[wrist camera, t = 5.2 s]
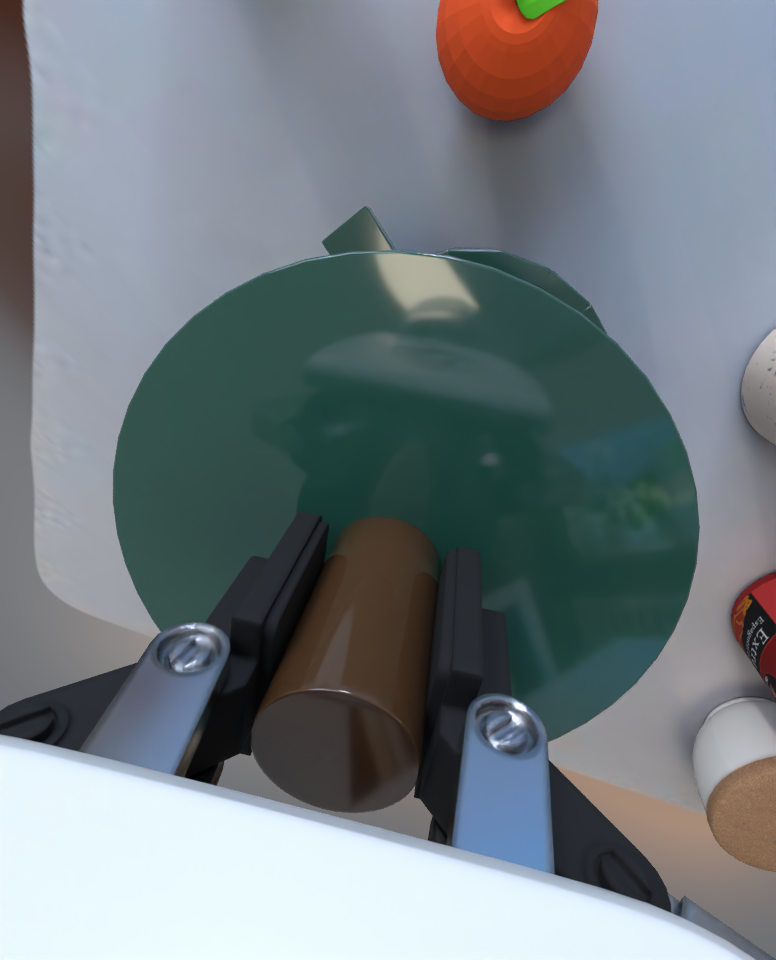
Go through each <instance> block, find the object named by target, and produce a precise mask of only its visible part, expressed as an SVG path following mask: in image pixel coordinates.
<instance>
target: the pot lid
mask: <svg viewBox="0 0 776 960" xmlns="http://www.w3.org/2000/svg"><path fill="white" fill-rule="evenodd" d="M113 506H114V513H115V521H116V528H117V535H118V538H119V542H120V546H121V550H122V553H123V557H124V561H125V564H126V567H127V569H128V571H129V574H130V576H131V579H132V581H133V584H134V586H135V588H136V591H137V593H138V595H139V597H140V598H141V600H142V602H143V604H144V606H145V607H146V609H147V611H148V613H149V615H150V616H151V618H152V620H153V621H154V623H155V624H156V625H157V627H158V628H159V630H160V631H161V632H162V631H164V630H166V629H167V628H169V627H172V626H175V625H177V624H180V623H187V622H204V623H205V622H206V620H207V619H208V617H209V616H210V614H211V613H212V612H213V610H214V609H215V607H216V606H217V604H218V603H219V602H220V600H221V599H222V597H223V596H224V594H225V593H226V591H227V590H228V589H229V587H230V586H231V584H232V583H233V581H234V580H235V579H236V577H237V576H238V574H239V573H240V571H241V570H242V569H243V567H244V566H245V564H246V563H247V561H248V560H249V559H250V558H251V557H252V556H258V557H262V558H267V559H269V557H270V556H271V554H272V552H273V551H274V549H275V548H276V546H277V545H278V543H279V541H280V540H281V538H282V537H283V535H284V534H285V532H286V530H287V529H288V527H289V526H290V524H291V523H292V521H293V519H294V518H295V516H296V515H297V513H298V512H299V511H302V512H307V513H311V514H316V515H320V516H322V522H324V523H329V532H328V539H327V546H326V553H325V560H324V565H323V568H322V570H321V572H320V574H319V576H318V579H317V581H316V583H315V585H314V587H313V590H312V592H311V594H310V596H309V598H308V601H307V603H306V605H305V607H304V609H303V612H302V614H301V616H300V618H299V620H298V623H297V625H296V627H295V629H294V631H293V633H292V636H291V638H290V640H289V642H288V644H287V647H286V649H285V651H284V653H283V655H282V658H281V660H280V662H279V664H278V666H277V669H276V671H275V673H274V675H273V677H272V680H271V682H270V684H269V686H268V688H267V691H266V693H265V695H264V697H263V699H262V702H261V704H260V706H259V708H258V710H257V712H256V715H255V717H254V719H253V722H252V725H251V730H250V744H251V749H252V752H253V755H254V758H255V760H256V762H257V763H258V765H259V766H260V768H261V769H262V771H263V772H264V774H266V776H267V777H268V778H269V779H270V780H271V781H272V782H273V783H274V784H275V785H276V786H278V787H279V788H280V789H282V790H283V791H284V792H286V793H288V794H289V795H291V796H292V797H294V798H296V799H298V800H300V801H302V802H305V803H307V804H310V805H312V806H315V807H318V808H321V809H325V810H330V811H335V812H343V813H365V812H372V811H376V810H381V809H384V808H387V807H389V806H391V805H394V804H395V803H397V802H399V801H400V800H402V799H403V798H404V797H406V796H407V795H408V794H409V792H410V791H411V790H412V789H413V787H414V786H415V784H416V783H417V781H418V778H419V776H420V772H421V766H422V755H423V745H424V734H425V724H426V714H425V713H426V703H427V693H428V683H429V672H430V662H431V652H432V642H433V632H434V622H435V612H436V601H437V591H438V583H439V579H440V576H441V572H442V568H443V564H444V560H445V556H446V553H447V550H449V551H454V552H455V551H456V548H457V546H459V547H463V548H468V549H472V550H477V551H480V553H481V587H482V608H484V609H489V610H493V611H497V612H502V613H503V614H504V615H505V622H506V634H507V645H508V657H509V668H510V680H511V691H512V697H513V698H516V699H518V700H520V701H521V702H523V703H524V704H526V705H527V706H529V707H530V708H531V709H532V710H533V711H534V712H535V713H536V714H537V715H538V717H539V718H540V720H541V722H542V723H543V725H544V727H545V730H546V735H547V742H549V741H551V740H554V739H556V738H559V737H561V736H562V735H564V734H566V733H568V732H570V731H572V730H574V729H576V728H578V727H579V726H581V725H583V724H585V723H587V722H588V721H590V720H591V719H592V718H594V717H595V716H597V715H598V714H600V713H601V712H602V711H604V710H605V709H607V708H608V707H610V706H611V705H612V704H613V703H615V702H616V701H617V700H618V699H619V698H620V697H621V696H622V695H623V694H625V693H626V692H627V691H628V690H629V689H630V688H631V687H632V686H633V685H634V684H636V683H637V681H638V680H639V679H640V678H641V677H642V675H643V674H644V673H645V672H646V671H647V669H648V668H649V667H650V666H651V665H652V664H653V662H654V661H655V660H656V659H657V657H658V656H659V654H660V652H661V651H662V649H663V648H664V646H665V644H666V643H667V641H668V640H669V638H670V636H671V635H672V633H673V632H674V630H675V628H676V625H677V623H678V621H679V618H680V616H681V614H682V611H683V609H684V607H685V604H686V602H687V600H688V596H689V592H690V588H691V584H692V580H693V576H694V572H695V568H696V564H697V552H698V540H699V529H700V527H699V515H698V502H697V490H696V486H695V482H694V478H693V474H692V470H691V466H690V462H689V458H688V454H687V451H686V449H685V446H684V444H683V442H682V439H681V437H680V435H679V432H678V430H677V428H676V425H675V423H674V421H673V418H672V416H671V414H670V412H669V411H668V409H667V408H666V406H665V404H664V403H663V401H662V400H661V398H660V397H659V395H658V393H657V392H656V390H655V389H654V387H653V386H652V384H651V383H650V381H649V379H648V378H647V376H646V375H645V374H644V373H643V372H642V371H641V370H640V369H639V367H638V366H637V365H636V364H635V363H634V362H633V361H632V360H631V358H630V357H629V356H628V355H627V354H626V353H625V352H624V350H623V349H622V348H621V347H620V346H619V345H618V344H617V343H616V342H615V341H614V340H613V339H611V338H610V337H609V336H608V335H607V334H605V333H604V332H603V331H602V330H601V329H600V328H598V327H597V326H596V325H595V324H594V323H592V322H591V321H590V320H589V319H588V318H586V317H585V316H584V315H583V314H582V313H580V312H579V311H577V310H576V309H574V308H572V307H571V306H569V305H567V304H566V303H564V302H563V301H561V300H559V299H558V298H556V297H554V296H553V295H551V294H549V293H548V292H546V291H545V290H543V289H541V288H540V287H538V286H536V285H534V284H531V283H529V282H527V281H524V280H522V279H520V278H517V277H515V276H513V275H510V274H508V273H506V272H503V271H501V270H499V269H496V268H494V267H490V266H487V265H483V264H479V263H475V262H471V261H468V260H464V259H460V258H456V257H453V256H449V255H442V254H433V253H425V252H416V251H408V250H374V251H351V252H345V253H339V254H333V255H328V256H322V257H316V258H310V259H305V260H302V261H299V262H296V263H293V264H290V265H287V266H284V267H281V268H278V269H275V270H272V271H269V272H266V273H263V274H261V275H259V276H257V277H255V278H253V279H251V280H249V281H247V282H246V283H244V284H242V285H240V286H238V287H236V288H234V289H232V290H230V291H228V292H226V293H225V294H223V295H222V296H220V297H219V298H218V299H216V300H215V301H214V302H212V303H211V304H209V305H208V306H207V307H205V308H204V309H203V310H201V311H200V312H198V313H197V314H196V315H194V316H193V317H192V318H191V319H190V320H189V321H188V322H187V323H186V324H185V325H184V326H183V327H182V328H181V329H180V330H179V331H178V332H177V333H176V334H175V335H174V336H173V337H172V338H171V339H170V340H169V341H168V342H167V343H166V344H165V346H164V347H163V348H162V350H161V351H160V353H159V354H158V355H157V357H156V358H155V360H154V361H153V362H152V364H151V365H150V367H149V368H148V369H147V371H146V372H145V374H144V376H143V378H142V380H141V382H140V384H139V386H138V388H137V390H136V392H135V394H134V396H133V398H132V400H131V402H130V404H129V406H128V409H127V412H126V415H125V418H124V421H123V425H122V428H121V431H120V434H119V437H118V443H117V449H116V456H115V462H114V469H113Z"/></svg>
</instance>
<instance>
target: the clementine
mask: <svg viewBox="0 0 776 960" xmlns="http://www.w3.org/2000/svg"><path fill="white" fill-rule="evenodd" d="M597 14H598V0H440V4H439V9H438V19H437V29H436V41H437V50H438V59H439V62H440V65H441V68H442V71H443V73H444V76H445V79H446V81H447V83H448V84H449V86H450V87H451V89H452V90H453V92H454V93H455V95H456V96H457V98H458V99H459V100H460V101H461V102H462V103H463V104H464V105H466V106H467V107H468V108H469V109H470V110H472V111H473V112H474V113H476V114H478V115H481V116H483V117H486V118H488V119H491V120H501V121H512V120H516V119H521V118H525V117H528V116H530V115H532V114H534V113H536V112H538V111H539V110H541V109H543V108H545V107H547V106H549V105H550V104H551V103H552V102H553V101H554V100H555V99H557V98H558V97H559V96H560V95H561V94H562V93H563V92H564V91H565V90H566V89H567V88H568V87H569V85H570V84H571V82H572V81H573V79H574V78H575V77H576V75H577V74H578V72H579V71H580V69H581V68H582V65H583V63H584V60H585V58H586V56H587V53H588V51H589V49H590V46H591V43H592V39H593V34H594V29H595V24H596V19H597Z"/></svg>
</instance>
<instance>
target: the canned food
mask: <svg viewBox="0 0 776 960" xmlns="http://www.w3.org/2000/svg"><path fill="white" fill-rule="evenodd" d="M731 618H732V626H733V632H734V635H735V637H736V639H737V641H738V643H739V644H740V646H741V647H742V649H743V650H744V652H745V653H746V655H747V656H748V658H749V659H750V661H751V662H752V664H753V665H754V667H755V668H756V670H757V671H758V673H759V674H760V676H761V677H762V679H763V680H764V682H765V683H766V685H767V686H768V688H769V689H770V691H771V692H772V694H773V695H774V697H775V698H776V573H772V574H770V575H767V576H765V577H763V578H761V579H759V580H757V581H756V582H754V583H753V584H751V585H750V586H749V587H748V588H747V589H745V590H744V591H743V592H742V593H741V595H740V596H739V597H738V599H737V600H736V602H735V604H734V607H733V609H732V615H731Z"/></svg>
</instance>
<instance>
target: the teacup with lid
mask: <svg viewBox="0 0 776 960" xmlns="http://www.w3.org/2000/svg"><path fill="white" fill-rule="evenodd" d="M741 399H742V406H743V410H744V413H745V415H746V417H747V419H748V421H749V423H750V424H751V426H752V427H753V428H754V429H755V430H756V431H757V432H758V433H759V434H760V435H761V436H762V437H764V438H765V439H767V440H768V441H770V442H771V443H773V444H774V445H776V329H774V330H773V331H772V332H771V333H770V334H769V335H768V336H767V337H766V338H765V339H764V340H763V341H762V343H761V344H760V345H759V347H758V348H757V349H756V351H755V352H754V354H753V355H752V357H751V359H750V361H749V363H748V365H747V368H746V370H745V373H744V377H743V381H742V388H741Z"/></svg>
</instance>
